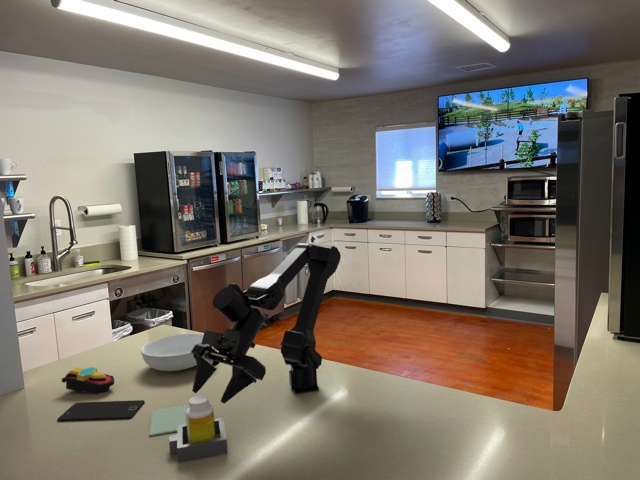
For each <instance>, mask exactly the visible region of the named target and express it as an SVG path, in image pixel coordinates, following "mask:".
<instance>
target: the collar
mask: <svg viewBox="0 0 640 480" xmlns="http://www.w3.org/2000/svg"><path fill="white" fill-rule="evenodd" d="M214 425H215V435H219V438H215V439H212V440H206V441H201V442H195V443H190V444H188V443H185V442H184V441H186V440H188V434H187V424H183V425H178V429H177V434H173V435H169V440H168V445H169V454H170V456H171V455H176V454H177V461H178V463H185V462H188V461H189V462H190V461H194V460H200V459H205V458H206V459H207V458H211V457H215V456H220V455H226V454H228V439H227V433H226V429H225V428H226V427H225V423H224V418H223V417H219V418H214ZM184 443H185V444H184Z"/></svg>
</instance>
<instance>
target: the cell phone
mask: <svg viewBox="0 0 640 480" xmlns="http://www.w3.org/2000/svg"><path fill="white" fill-rule="evenodd" d="M144 405H145V400H144V399H141V400H140V399H138V400H137V399H136V400H114V401H113V400H112V401H111V400H110V401H84V402H83V401H82V402H75V403H72V405H71V406H70V407H69V408H68V409H67V410H66V411H64V412H63V413H62V414H61V415H60V416H59V417H57V420H56V421H57V422H58V423H59V422H61V423H62V422H85V421H86V422H90V421H115V420H117V421H118V420H121V421H122V420H131V419H133V418H134V416H136V414H137V413H138V412H139V411H140V410H141V408H142V407H143V406H144Z"/></svg>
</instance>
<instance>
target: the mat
mask: <svg viewBox="0 0 640 480" xmlns="http://www.w3.org/2000/svg"><path fill="white" fill-rule="evenodd" d="M188 408H189V404H184V405H178V406H172V407H167V408H161V409H154V410H152V411H151V418H150V427H149V434H148V436H149V437H153V436H161V435H165V434H171V433H176V432H177V429H178V425H183V424H187V422H186V410H187V409H188Z"/></svg>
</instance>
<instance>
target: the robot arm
mask: <svg viewBox="0 0 640 480" xmlns="http://www.w3.org/2000/svg"><path fill="white" fill-rule="evenodd" d="M341 259H342V258H341V252H340V251H339V249H338V247H337V246H334V245H320V244H319V245H318V244H317V245H316V244H314V243H307V242H306V243H305V242H304V243H303V242H299V243H297V244H296V245H295V246H294V249H293V250H292V251H291V252H290V253H289V254H288V255H287V256H286V257H285V259H283V260H282V261H281V262H280V264H278V266H277V267H276V268H275V269H274V270H273V271H271V273H269V274H268V275H266V276H264V277H262V278H259V279H257V281H254V282H253V283H252V284H251V285H250V286H248V288H247V289H246V290H244V291H243V290H242V289H241V287H240V286H239V285H238V284H237V283H233V282H230V283H229V284H228V285H227V286H226V287H224V288H222V289H221V290H220V291H218V292H217V293H215V295H214V296H213V299H212V306H213V308H214V309H215V310H217V312H218V313H220V314H221V315H222V316H224V318H226V319H227V320H228V321H229V322H230V323H231V322H232V323H233V325H232V326H231V329H230V328H226V329H224V331H223V332H219V331H213V330H210V329H204V332H203V334H204V335H203V339H202V343H198V344H196V345H195V346H194V348H193V349H192V351H191V353H192V354H194V355H193V358H195V359H196V363H197V365H196V370H195V376H194V380H193V385H192V393H194V394H198V392H199V391H200V390H201V389H202V388H203V387H204V386H205V384H206V383H207V382H208V381H209V379H210V378H211V377H212V376H213V374H214V373H215V372H216V370H217V368H216V366H218V365H219V364H223V365H227V366H231V369H232V370H231V371H232V372H231V378H230V380H229V381H228V383H227V386H226V388H225V390H224V391H223V394H222V396H221V399H220V402H221V403H222V404H224V405H225V404H226V403H228V402H229V401H230V400H231V399H233V398H234V397H235V396H236V395H238V394H239V393H240V392H241V391H243V390H244V389H246V388H247V387H248V386H250V385H251V384H253V383H254V384H255V383H257V381H258V380H259V381H263V379H264V377H265V375H266V371H267V370H266V366H265V365H264V364H263V363H262V362H261V361H259V359H257V358H256V357H255V356H252V355H247V353H248V352H249V350H250V348H251V349H254V348H255V347H256V343H255V342H254V341H255V339H256V338H257V335H258V333H259V331H260V329H261V327H262V326H267V327H268V326H270V324H271V322H270V319H269V314H268V313H266V312H261V311H260V309H261V310H266V311H273V310H274V311H275V310H276V309H277V308H278V306H279V305H280V303H281V302H282V300H283V298H284V297H285V289H286V288H287V286H288V285H289V284H290V283H291V282H292V281H293V280H294V278H295V277H297V275H299V273H300V272H301V271H302V270H303V268H305V266H306V265H307V268H308V271H309V272H308V273H309V275H308V276H309V277H308V279H307V283H306V287H305V290H304V294H303V297H302V300H301V304H300V308H299V311H298V315H297V318H296V321H295V324H294V326H293V327H292V328H291V329H290V330H288V329H285V331H284V333H283V338H282V341H281V343H280V346H281V347H280V354H281V355H282V358H283V361H284V363H285V365H288V366H290V370H289V371H288V380H289V381H288V383H289V387H290V388H291V390H293V392H294V394H295V395H296V394H302V393H310V392H314V391H315V392H316V391H319V390H320V386H319V385H318V377H317V376H318V375H317V373H318V369H319V367H321V366H322V362H323V356H322V355H321V354H320V353H319V352H317V351H316V347H317V346H316V344H317V341H316V337H315V333H314V329H315V327H316V322H317V319H318V314H319V311H320V308H321V304H322V300H323V297H324V293H325V291H326V287H327V284H328V280H329V279H330V278H331V276H333V275H334V274H335V273H336V272H337V269H338V266H339V264H340V261H341ZM206 344H207V345H206ZM209 345H210V346H209Z"/></svg>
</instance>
